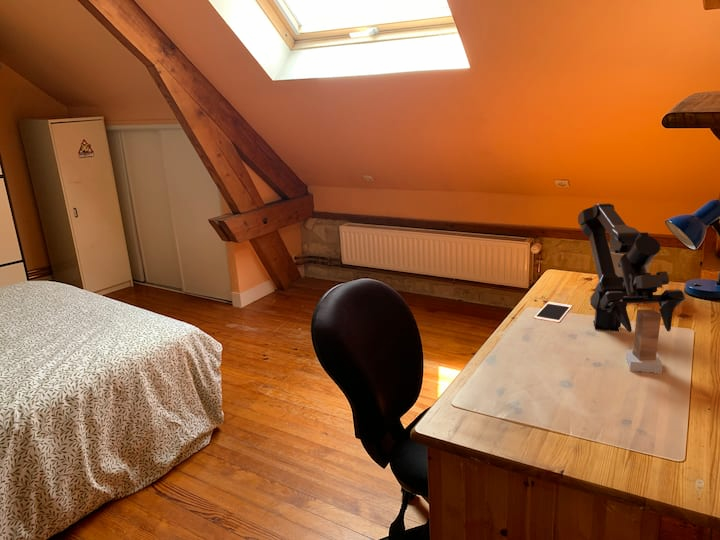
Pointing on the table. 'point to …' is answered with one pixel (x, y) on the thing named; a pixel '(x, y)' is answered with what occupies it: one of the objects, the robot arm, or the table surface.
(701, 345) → the table surface
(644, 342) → the walnut block
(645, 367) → the base
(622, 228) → the robot arm
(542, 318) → the cell phone
